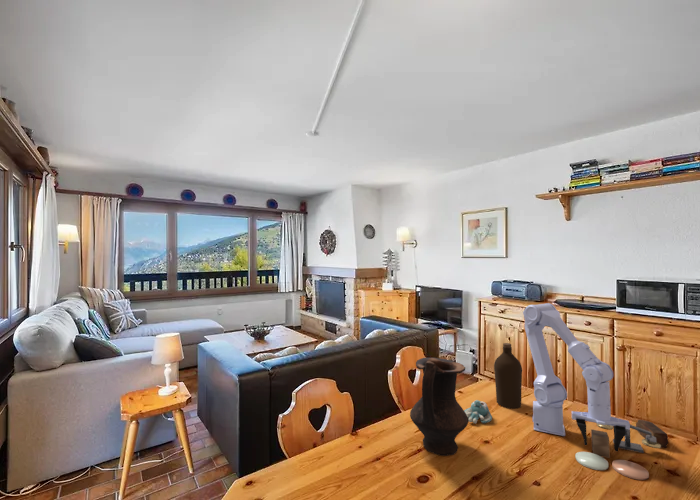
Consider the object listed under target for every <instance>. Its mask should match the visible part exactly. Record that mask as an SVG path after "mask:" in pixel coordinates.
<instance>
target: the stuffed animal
mask: <svg viewBox="0 0 700 500" xmlns="http://www.w3.org/2000/svg"><path fill="white" fill-rule="evenodd" d="M463 410H464V412H465V413H466V415H467V417H468V420H469V422H468V423H473V424H477V423H478V420H479V419H480V420H479V421H480V422H481V423H482V424H487V423H490V422H492V419H493V415H492V414H491V412H490V409H489V407H488V404H487V403H486V402H485V401H480V400H479V399H475V400H473V402H471V404H470V407H468V408H466V409H463Z"/></svg>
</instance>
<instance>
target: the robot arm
mask: <svg viewBox="0 0 700 500" xmlns="http://www.w3.org/2000/svg"><path fill="white" fill-rule="evenodd" d="M522 315H523V318H524V327H523V328H524V331H525V334H526V339H527V341H528V345H529V351H530V352H531V353H530V354H531V357H532V360H533V361H532V362H533V364H534V368H535V372H536V374H537V376H536V378H535V380H534V381H533V388H534V389H533V390H534V391H533V395H534V398H535V400H533V401H532V413H533V414H532V423H533V430H534V431H538V432H543V433H547V434H551V435H552V434H553V435H558V436H560V437H561V436H562V437H565V436H566V431H565V425H564V411H563V410H564V407H563V405H564V401H565V400H566V399H567V398H568V393H567V389H566V388H565V386H564V385H563V382H562V380H561V378H559V377H558V376H556V375H555V373H554V372H555V371H554V367H553V364H552V360H551V358H550V354H549V351H548V347H547V343H546V339H545V336H544V332H543V330H544V328H545V327H549V328H551V329H552V330H553V331H554V333H556V335H558V336H559V338H561V340H562V341H563V342H564V343H565V344H566V345H567V352H568V354H569V355H570V356H571V357H572V358H573V360H574V361H575V362H576V363H577V364H578V366H579V367H580V368H581V369H582V371H581V375H582V376H583V377H582V378H583V379H584V380H585V384H586V387H587V388H586V389H587V390H586V391H587V411H575V410H571V420H575V421H576V422H575V423H576V425H577V427H578V429H579V431H580V433H581V435H582V438H583V443H584V446H588V438H587V424H586V422H590V423H594V424H596V423H598V424H602V425H605V424H606V425H611V426H613V439H614V443H613V448H614V451H615V452H616V453H618V452H619V449H620V448H619V445H620V443H621V441H623V440H624V439H623V438H625V434H626V430H625V429H628V430H630V431H631V428H630V425H631V423H630V422H629V420H628V419H627V420H626V419H623V418H619V417H616V416H615V417H614V416H611V415H612V414H611V390H610V388H611V387H610V381H612V380H613V378H614V370H613V369H612V367H611V366H610V365H609V364H608V363H606V362H604V361H602V360H601V359H600V358H598V357H597V356H596V355H595V353H593V351H592V350H591V349H590V345H589V344H586V343H585V342H583V341H580V340H578V339H577V337H576V336H575V335H574V333H573V332H572V331H571V330H570V328H569V327H568V325H567V324H566V323H565V321H564V320H563V319H562V317H561V313H560V311H559V310H558V309H557V308H556V307H555V306H554V304H552V303H549V302H547V303H546V302H545V303H539V304H529V305H527V306H526V307H525V308H524V310H523V311H522Z"/></svg>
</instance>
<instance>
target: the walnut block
mask: <svg viewBox="0 0 700 500" xmlns="http://www.w3.org/2000/svg"><path fill="white" fill-rule="evenodd" d="M590 430H591V432H590V433H591V450H592V453H593V454H596V455H599V456H601V457H603V458H607V459H610V458H611V455H610V453H611V452H610V437H609V434H608V432H607V431H601V430H598V429H590Z"/></svg>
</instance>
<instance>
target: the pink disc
mask: <svg viewBox="0 0 700 500" xmlns="http://www.w3.org/2000/svg"><path fill="white" fill-rule="evenodd" d="M611 467H612V468H613V469H614V471H615V472H617V473H618V474H620V475H622V476H624V477H626V478H630V479H632V480H639V481H644V480H645V481H646V480H648V479H649V478H650V474H649V473H650V472H649V470H647V468H645V467H644V466H642V465H640V464H638V463H636V462H633V461H629V460H626V459H615V460H613V461H612V466H611Z"/></svg>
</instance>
